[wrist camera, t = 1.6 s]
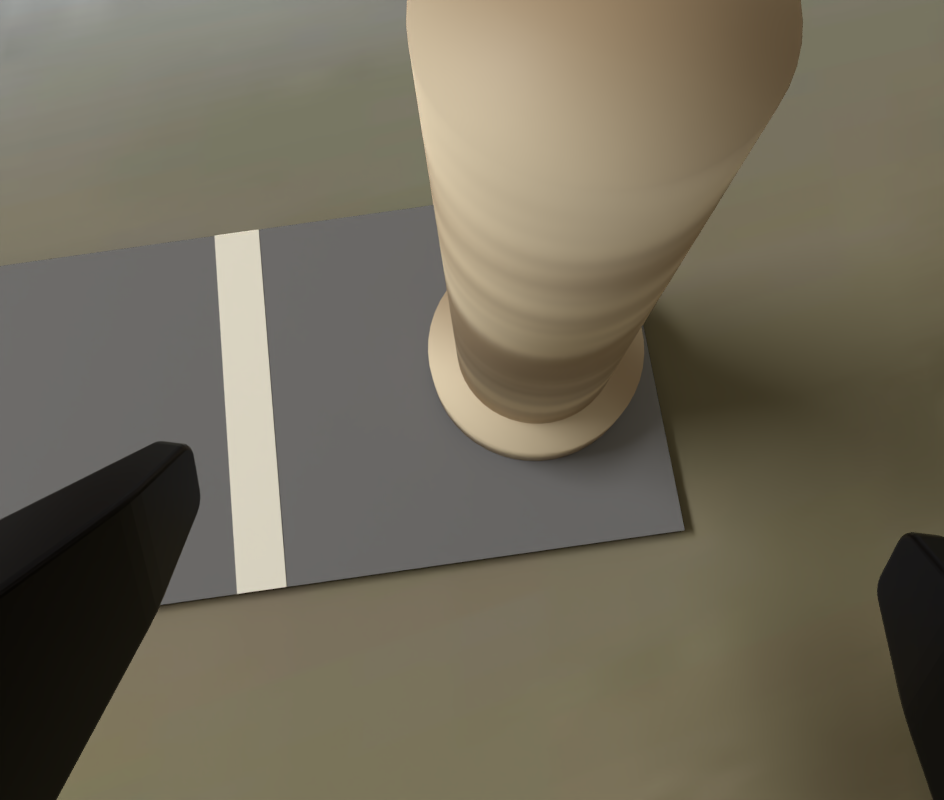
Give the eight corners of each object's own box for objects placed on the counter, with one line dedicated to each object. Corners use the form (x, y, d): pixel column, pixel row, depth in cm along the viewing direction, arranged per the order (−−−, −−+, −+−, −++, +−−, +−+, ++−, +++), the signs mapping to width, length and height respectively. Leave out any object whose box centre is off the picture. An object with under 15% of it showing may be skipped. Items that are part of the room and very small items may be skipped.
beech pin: (581, 497, 21) (752, 358, 7) (396, 404, 22) (235, 120, 8) (666, 318, 22) (952, -93, 8) (488, 236, 23) (484, -263, 9)
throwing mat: (612, 184, 23) (614, 179, 23) (681, 530, 21) (684, 530, 21) (-134, 289, 23) (-143, 285, 23) (-153, 649, 21) (-163, 651, 20)
